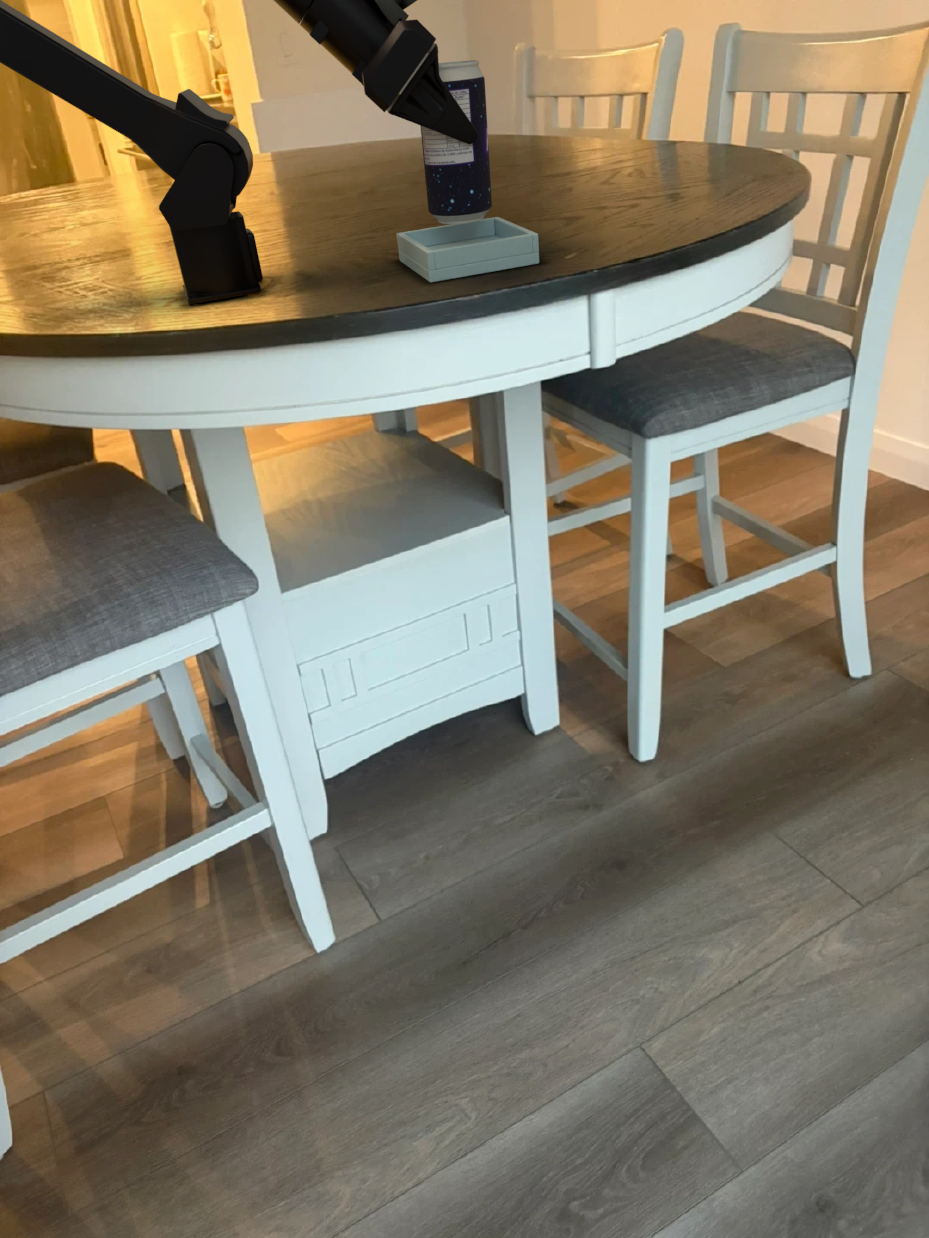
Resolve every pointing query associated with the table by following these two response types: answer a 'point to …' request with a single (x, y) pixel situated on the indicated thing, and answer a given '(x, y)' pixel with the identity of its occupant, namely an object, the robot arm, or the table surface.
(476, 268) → the rectangular tray
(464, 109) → the beverage can
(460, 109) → the robot arm
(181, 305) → the table surface
